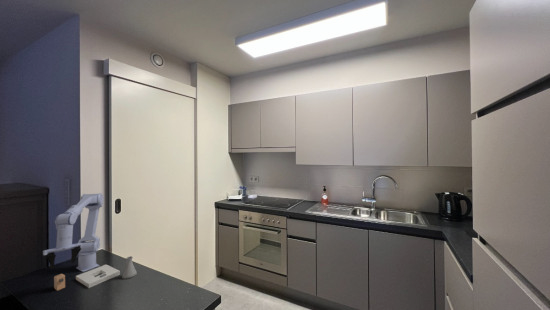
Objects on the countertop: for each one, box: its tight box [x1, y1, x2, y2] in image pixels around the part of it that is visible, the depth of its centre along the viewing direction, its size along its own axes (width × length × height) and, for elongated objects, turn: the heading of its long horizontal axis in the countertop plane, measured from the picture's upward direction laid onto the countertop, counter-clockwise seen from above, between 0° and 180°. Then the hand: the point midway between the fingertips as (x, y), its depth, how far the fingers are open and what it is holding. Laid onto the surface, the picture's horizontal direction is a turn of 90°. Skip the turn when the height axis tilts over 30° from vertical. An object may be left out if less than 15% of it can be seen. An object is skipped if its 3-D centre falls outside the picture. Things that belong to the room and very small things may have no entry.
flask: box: [121, 256, 138, 280], centre depth 120 cm, size 7×7×10 cm
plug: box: [53, 273, 66, 291], centre depth 109 cm, size 5×3×6 cm, turn 61°
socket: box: [75, 264, 121, 289], centre depth 119 cm, size 16×14×2 cm
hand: (62, 265), depth 108 cm, fingers open, 7 cm apart
